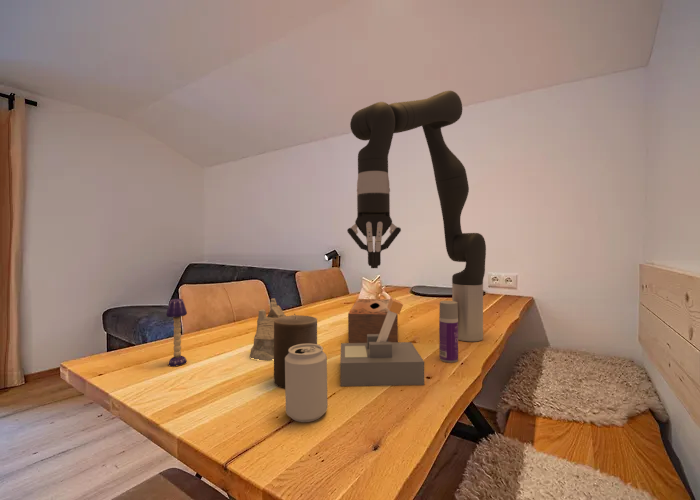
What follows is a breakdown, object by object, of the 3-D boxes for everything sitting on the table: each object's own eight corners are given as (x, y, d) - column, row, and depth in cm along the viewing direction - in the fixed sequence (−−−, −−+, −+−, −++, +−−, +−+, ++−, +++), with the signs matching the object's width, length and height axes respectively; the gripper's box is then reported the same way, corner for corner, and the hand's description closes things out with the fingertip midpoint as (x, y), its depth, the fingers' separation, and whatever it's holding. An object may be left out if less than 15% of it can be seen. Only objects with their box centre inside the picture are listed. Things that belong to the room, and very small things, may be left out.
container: (459, 363, 84) (459, 304, 83) (440, 362, 85) (439, 303, 84) (457, 356, 88) (456, 300, 88) (438, 355, 89) (438, 300, 89)
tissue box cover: (397, 348, 97) (397, 314, 96) (348, 347, 98) (348, 313, 98) (396, 326, 122) (396, 299, 122) (357, 325, 124) (357, 298, 124)
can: (287, 404, 63) (286, 342, 63) (327, 402, 64) (326, 340, 64) (283, 426, 56) (282, 355, 56) (327, 423, 57) (326, 353, 56)
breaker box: (341, 362, 85) (340, 331, 85) (411, 361, 85) (411, 330, 85) (340, 386, 71) (340, 349, 71) (424, 384, 71) (424, 347, 71)
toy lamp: (192, 362, 87) (190, 298, 86) (176, 368, 82) (174, 301, 82) (179, 359, 89) (177, 297, 88) (163, 365, 84) (161, 300, 84)
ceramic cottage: (240, 357, 89) (244, 302, 89) (275, 342, 105) (278, 295, 104) (291, 368, 84) (294, 309, 84) (319, 351, 99) (323, 301, 99)
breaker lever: (372, 345, 80) (390, 297, 80) (381, 349, 80) (399, 301, 80) (373, 351, 76) (393, 300, 76) (383, 355, 76) (403, 304, 76)
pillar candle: (280, 392, 68) (280, 320, 68) (269, 376, 77) (269, 311, 77) (324, 383, 73) (324, 315, 73) (308, 368, 82) (308, 307, 81)
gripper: (399, 195, 81) (399, 266, 82) (344, 196, 81) (345, 267, 81) (404, 190, 74) (405, 268, 74) (344, 191, 73) (345, 269, 74)
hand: (374, 267), depth 78 cm, fingers closed
